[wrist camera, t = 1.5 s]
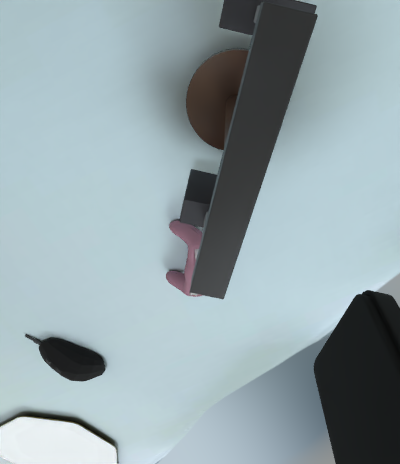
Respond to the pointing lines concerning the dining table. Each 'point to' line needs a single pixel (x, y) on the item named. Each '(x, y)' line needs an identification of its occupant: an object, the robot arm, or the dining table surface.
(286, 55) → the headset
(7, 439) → the plate
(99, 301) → the dining table surface
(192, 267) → the video game controller
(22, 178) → the dining table surface
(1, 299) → the dining table surface
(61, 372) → the gaming mouse
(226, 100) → the headphone stand
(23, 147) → the dining table surface
